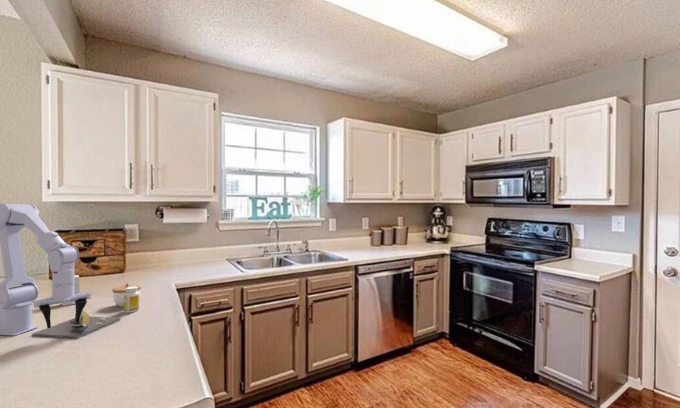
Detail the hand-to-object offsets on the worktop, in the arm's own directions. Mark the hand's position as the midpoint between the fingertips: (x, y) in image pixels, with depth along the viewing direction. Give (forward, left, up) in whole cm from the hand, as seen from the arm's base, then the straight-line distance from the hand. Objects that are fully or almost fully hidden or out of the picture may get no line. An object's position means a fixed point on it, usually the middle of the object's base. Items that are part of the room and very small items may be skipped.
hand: (63, 324), depth 112 cm
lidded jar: (-6, +35, -4) cm, 35 cm away
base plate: (-2, +8, -4) cm, 9 cm away
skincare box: (-32, +33, -4) cm, 46 cm away
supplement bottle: (+2, +28, -4) cm, 28 cm away
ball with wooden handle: (0, +6, -2) cm, 7 cm away
